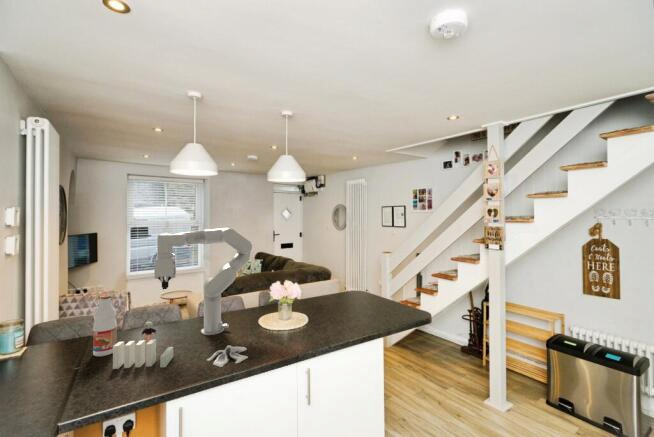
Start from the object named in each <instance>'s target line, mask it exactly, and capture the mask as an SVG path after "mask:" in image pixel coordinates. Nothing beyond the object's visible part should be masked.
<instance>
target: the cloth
mask: <svg viewBox="0 0 654 437" xmlns="http://www.w3.org/2000/svg"><path fill="white" fill-rule="evenodd" d="M247 350H248V348H246V347H245V346H232V345H227V346H226V347H225V349H220V350H217V351H216V352H214V353H213V354H212V356H210V357H209V358H207V359H206V361H213V360H214V359H215V360H214V361H213V363H212V365H214V367H215V366H217V367H218V368H223V367H224V366H225V365H226V364H228V362H229V361H230V360H234V361H235V362H234V363H235V364H238V363H239V364H240V363H241V362H242V361H244V360H246V359H248V358H249V356H247V355H244V354H243V355H242V354H241V353H244V352H245V351H247Z"/></svg>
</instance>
